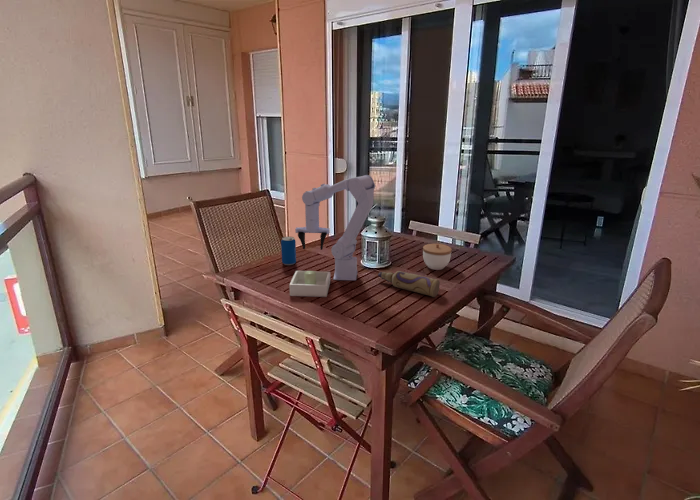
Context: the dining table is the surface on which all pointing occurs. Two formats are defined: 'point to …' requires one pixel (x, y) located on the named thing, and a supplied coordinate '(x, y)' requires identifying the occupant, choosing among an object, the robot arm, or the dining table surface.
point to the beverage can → (288, 250)
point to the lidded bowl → (436, 255)
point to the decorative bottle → (412, 282)
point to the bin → (310, 285)
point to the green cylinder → (310, 277)
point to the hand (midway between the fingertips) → (312, 248)
